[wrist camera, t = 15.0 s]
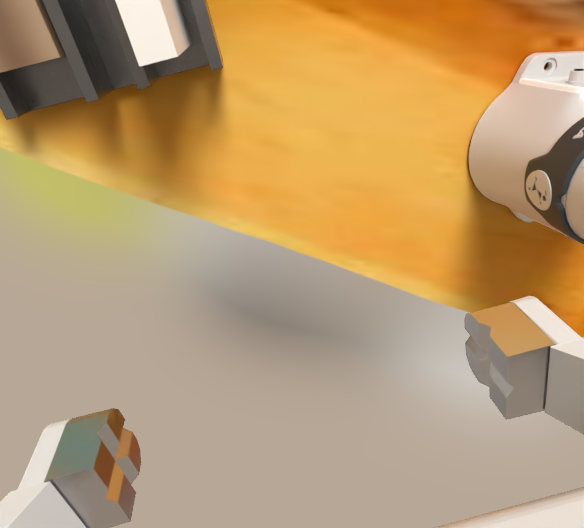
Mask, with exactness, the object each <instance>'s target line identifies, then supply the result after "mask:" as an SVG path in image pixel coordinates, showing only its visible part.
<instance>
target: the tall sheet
mask: <svg viewBox="0 0 584 528" xmlns="http://www.w3.org/2000/svg"><path fill="white" fill-rule="evenodd" d="M115 1H116V4H117V7H118V9H119V12H120V15H121V18H122V20H123V23H124V26H125V29H126V31H127V34H128V37H129V40H130V42H131V45H132V48H133V51H134V53H135V56H136V59H137V62H138V64H139V67H140V66H144V65H148V64H151V63H155V62H159V61H163V60H167V59H171V58H175V57H178V56H179V55H180V54H181V53H182V52H183V51H185V50H186V49H187V48H188V47H189V46H190V45H191V44H192V42H191V39H190V35H189V32H188V29H187V26H186V22H185V19H184V16H183V12H182V9H181V6H180V2H179V0H115Z"/></svg>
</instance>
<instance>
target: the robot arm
mask: <svg viewBox="0 0 584 528" xmlns="http://www.w3.org/2000/svg"><path fill="white" fill-rule="evenodd" d="M546 63H548V66H547V68H546V69H545V70H544V66H545V64H546ZM469 169H470V174H471V177H472V180H473V182H474V184H475V186H476V187H477V189H478V190H479V191H480V192H481V193H482V194H483V195H484V196H485V197H487V198H488V199H490V200H491V201H494V202H496V203H499V204H501V205H504V206H506V207H508V208H509V209H510V210H511V211H512V212H513V214H514V215H515V216H516V217H517V218H518V219H520V220H522V221H524V222H533V221H536V222H538V223H540V224H542V225H545V226H547V227H549V228H551V229H553V230H555V231H558V232H560V233H563V235H565V236H567V237H568V238H570V239H573V240H575V241H578V242H580V243H582V244H584V51H568V52H544V53H533V54H531V55H529V56H528V57H527V58H526V59H525V60H524V61H523V63H522V64H521V66H520V68H519V69H518V71H517V73H516V75H515V77H514V79H513V81H512V83H511V84H510V85H509V86H508V87H507V88H506V90H505V91H503V92H502V93H501V94H500V95H499V96H498V97H497V98H496V99H495V100H494V101H493V102H492V104H491V105H490V106H489V107H488V108H487V110H486V111H485V113H484V114H483V116H482V117H481V119H480V121H479V122H478V124H477V126H476V129H475V131H474V134H473V136H472V140H471V144H470V149H469ZM465 329H466V330H467V332H468V333H469V334H470V337H469V338H468V340H467V341H466V343H465V344H466V355H467V358H468V362H469V365H470V367H471V369H472V371H473V373H474V375H475V376H476V378H477V379H478V381H479V382H480V383H482V384H484V385H487V386H489V387H490V398H491V399H492V401H493V402H494V403H495V405H496V406H497V407H498V409H499V410H500V412H501V413H502V414H503V416H504V417H505V419H511V418H515V417H519V416H523V415H527V414H532V413H536V412H540V411H544V410H545V413H547V414H549V415H550V416H552V417H554V418H556V419H558V420H559V421H561V422H563V423H565V424H566V425H568V426H570V427H572V428H573V429H575V430H577V431H579V432H580V433H582V434H584V338H581V337H580V336H579V335H578V334H577V333H576V332H575V331H573V330H572V329H571V328H570V327H569V326H568V325H567V324H566V323H564V322H563V321H562V320H561V319H560V318H559V317H558V316H556V315H555V314H554V313H553V312H552V311H551V310H550V309H548V308H547V307H546V306H545V305H544V304H543V303H542V302H540V301H539V300H538V299H537V298H536V297H533V296H527V297H523V298H520V299H516V300H513V301H509V302H508V303H504V304H500V305H496V306H493V307H489V308H486V309H482V310H478V311H475V312H471V313H468V314H466V316H465ZM124 421H125V419H124V417H123V415H122V414H121V412H120V411H119V410H118V409H109V410H104V411H100V412H96V413H92V414H88V415H84V416H80V417H76V418H72V419H70V420H65V421H61V422H57V423H53V424H49V425H48V426H47V427H46V428H45V429H44V430H43V432H42V435H41V437H40V439H39V442H38V444H37V446H36V448H35V451H34V453H33V455H32V458H31V460H30V462H29V465H28V467H27V469H26V471H25V474H24V476H23V478H22V481H21V483H20V485H19V488H18V490H15V491H12V492H10V493H9V494H8V495H7V496H6V497H5V498H4V499H3V500H2V501H1V502H0V528H109V527H113V526H116V525H120V524H123V523H126V522H130V521H131V516H132V511H133V505H134V499H135V494H136V492H135V490H134V489H133V487H132V486H131V484H132V483H133V481H134V480H135V479H136V477H137V476H138V475H139V472H140V465H141V457H140V448H139V444H138V441H137V439H136V437H135V436H134V434H133V432H131V431H129V430H127V429H125V428H123V425H124ZM435 528H584V487H581V488H578V489H574V490H570V491H567V492H563V493H560V494H556V495H552V496H549V497H545V498H541V499H538V500H534V501H530V502H526V503H523V504H519V505H515V506H512V507H508V508H505V509H501V510H497V511H493V512H490V513H486V514H482V515H479V516H475V517H472V518H468V519H464V520H461V521H457V522H453V523H450V524H446V525H442V526H439V527H435Z"/></svg>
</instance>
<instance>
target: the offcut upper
mask: <svg viewBox="0 0 584 528" xmlns="http://www.w3.org/2000/svg"><path fill="white" fill-rule="evenodd" d="M63 56H66V54H65V51H64V49H63V47H62V44H61V42H60V40H59V38H58V35H57V33H56V31H55V28H54V26H53V24H52V21H51V19H50V17H49V14H48V12H47V10H46V7H45V5H44V3H43V1H42V0H0V73H1V72H5V71H9V70H13V69H17V68H21V67H24V66H28V65H32V64H36V63H40V62H44V61H48V60H52V59H56V58H59V57H63Z"/></svg>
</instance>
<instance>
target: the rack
mask: <svg viewBox="0 0 584 528" xmlns="http://www.w3.org/2000/svg"><path fill="white" fill-rule="evenodd" d="M42 1H43V3H44V5H45V7H46V10H47V12H48V14H49V17H50V19H51V21H52V24H53V26H54V28H55V31H56V33H57V35H58V38H59V40H60V42H61V44H62V47H63V49H64V51H65V54H66V56H63V57H60V58H56V59H52V60H48V61H44V62H40V63H36V64H32V65H28V66H25V67H21V68H17V69H13V70H9V71H5V72H1V73H0V108H1V110H2V112H3V114H4V116H5V118H6V119H7V120H8V119H12V118H16V117H19V116H21V115H23V114H25V113H27V112H29V111H31V110H35V109H39V108H43V107H47V106H51V105H54V104H58V103H62V102H66V101H70V100H74V99H78V98H82V97H84V98H85V100H86V102H91V101H95V100H99V99H100V98H102V97H103V96H105V95H106V94H108V93H109V92H111V91H112V90H114V89H116V88H120V87H124V86H128V85H132V84H136V86H137V88H138V89H141V88H145V87H149V86H151V85H152V84H153V83H154V82H155V81H156V80H157V79H158V78H159V77H163V76H167V75H170V74H174V73H178V72H182V71H186V70H190V69H194V68H198V67H201V66H205V65H209V66H210V69H211V70H215V69H219V68H223V59H222V55H221V52H220V48H219V44H218V41H217V37H216V33H215V30H214V26H213V23H212V19H211V15H210V12H209V8H208V4H207V1H206V0H179V2H180V6H181V9H182V12H183V16H184V19H185V22H186V26H187V29H188V32H189V35H190V39H191V42H192V44H191V45H190V46H189V47H188V48H187V49H186V50H185V51H183V52H182V53H181V54H180V55H179V56H178V57H175V58H171V59H167V60H163V61H159V62H155V63H151V64H148V65H144V66H140V67H139V64H138V62H137V59H136V56H135V53H134V51H133V48H132V45H131V42H130V40H129V37H128V34H127V31H126V29H125V26H124V23H123V20H122V18H121V15H120V12H119V9H118V7H117V4H116V1H115V0H42Z"/></svg>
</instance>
